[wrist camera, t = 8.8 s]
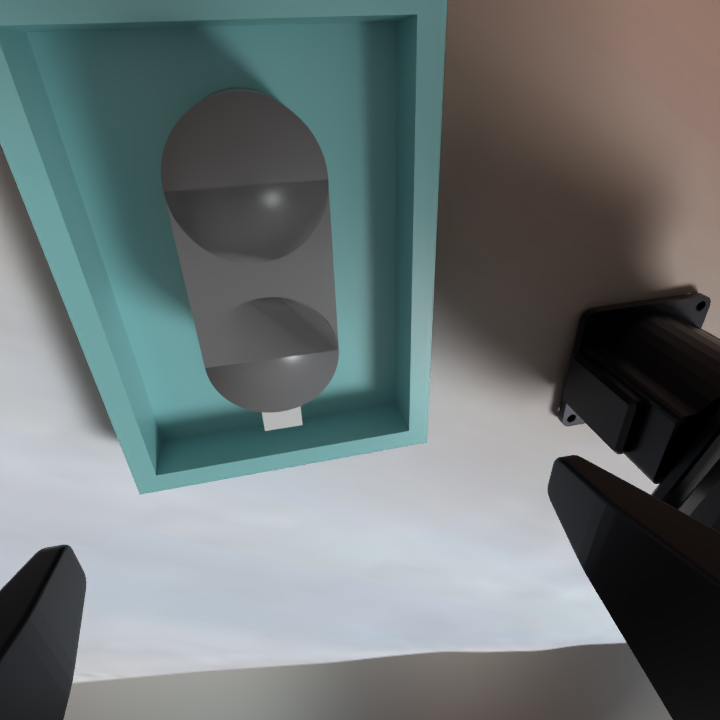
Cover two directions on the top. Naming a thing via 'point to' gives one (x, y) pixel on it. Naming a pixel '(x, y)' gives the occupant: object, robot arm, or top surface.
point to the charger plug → (255, 250)
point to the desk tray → (152, 223)
